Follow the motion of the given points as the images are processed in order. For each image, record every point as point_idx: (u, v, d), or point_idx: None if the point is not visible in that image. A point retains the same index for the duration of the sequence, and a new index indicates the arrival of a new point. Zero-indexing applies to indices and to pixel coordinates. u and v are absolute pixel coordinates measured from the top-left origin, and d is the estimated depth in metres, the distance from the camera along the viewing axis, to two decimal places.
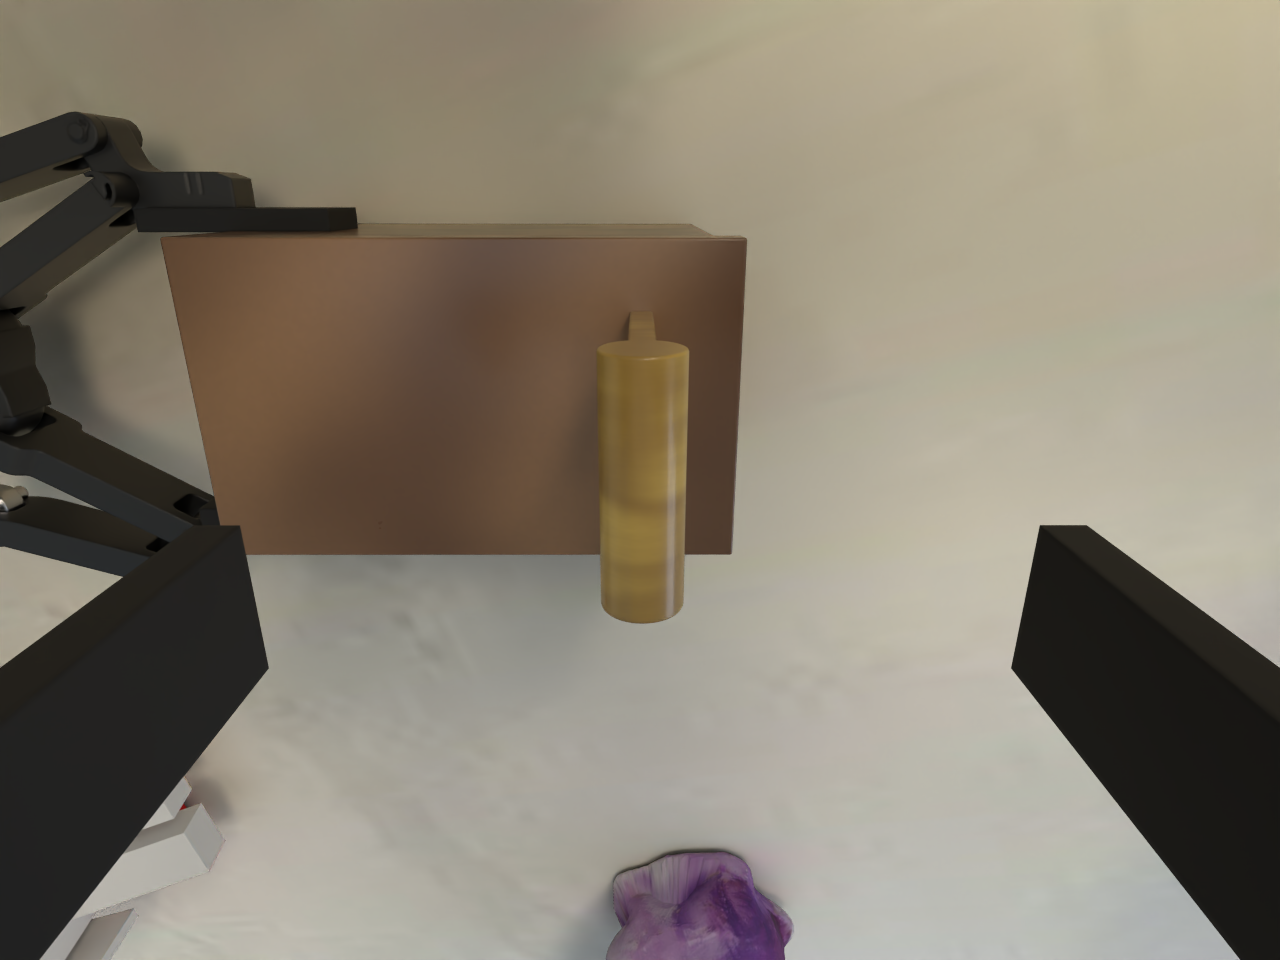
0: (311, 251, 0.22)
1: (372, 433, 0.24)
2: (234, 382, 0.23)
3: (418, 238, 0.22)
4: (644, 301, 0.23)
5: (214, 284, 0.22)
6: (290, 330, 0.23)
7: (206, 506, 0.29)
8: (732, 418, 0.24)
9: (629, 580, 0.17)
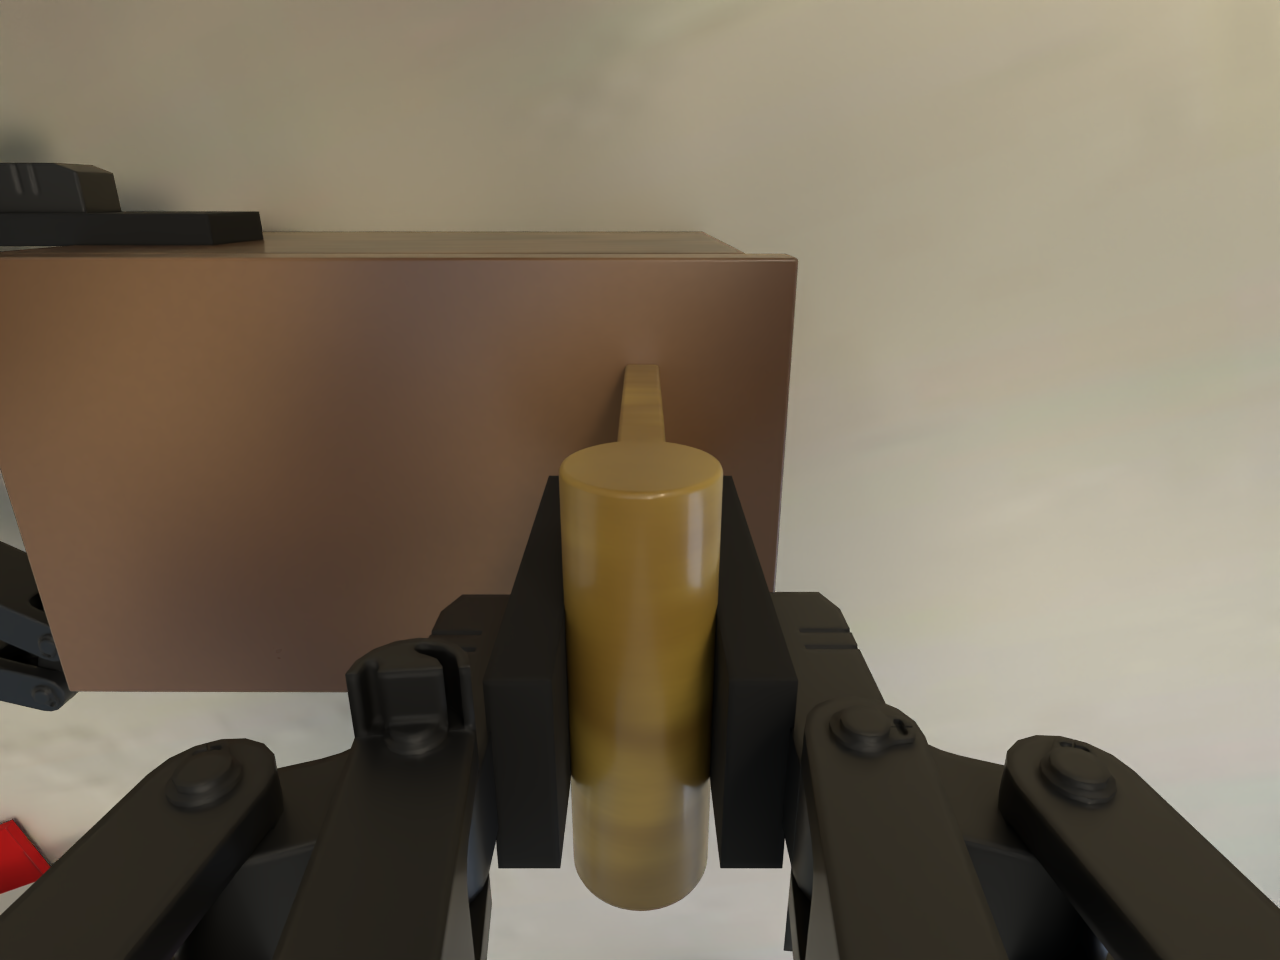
0: (157, 278, 0.15)
1: (261, 532, 0.17)
2: (62, 462, 0.16)
3: (313, 259, 0.15)
4: (646, 351, 0.16)
5: (20, 326, 0.15)
6: (134, 390, 0.16)
7: None
8: (772, 513, 0.17)
9: (618, 847, 0.10)
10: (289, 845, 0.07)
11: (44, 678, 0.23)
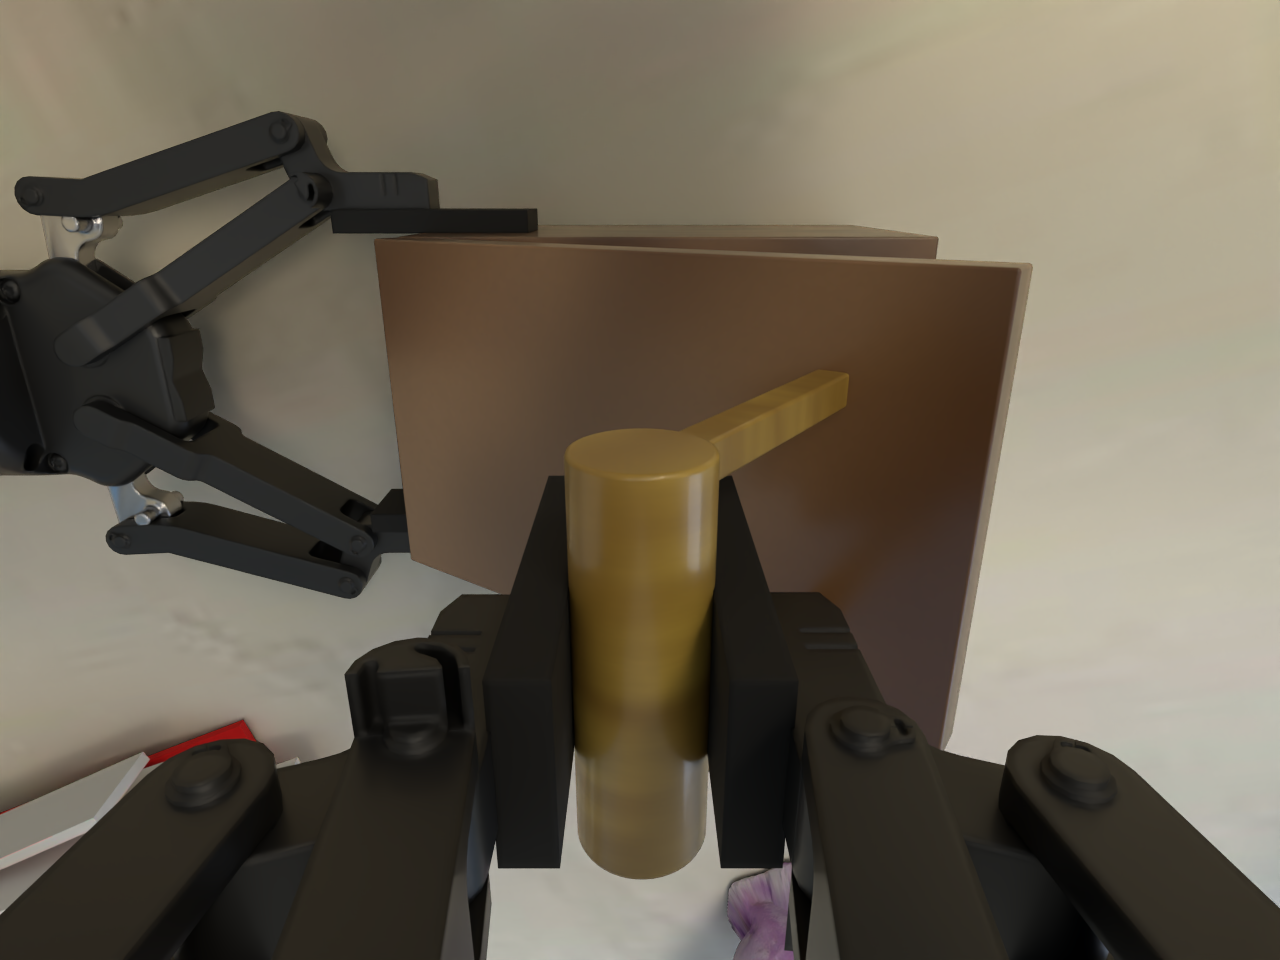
0: (481, 259, 0.20)
1: (524, 470, 0.21)
2: (420, 391, 0.22)
3: (576, 249, 0.18)
4: (839, 357, 0.15)
5: (408, 289, 0.21)
6: (462, 344, 0.21)
7: (376, 511, 0.29)
8: (961, 559, 0.15)
9: (587, 800, 0.11)
10: (289, 844, 0.07)
11: (348, 571, 0.30)
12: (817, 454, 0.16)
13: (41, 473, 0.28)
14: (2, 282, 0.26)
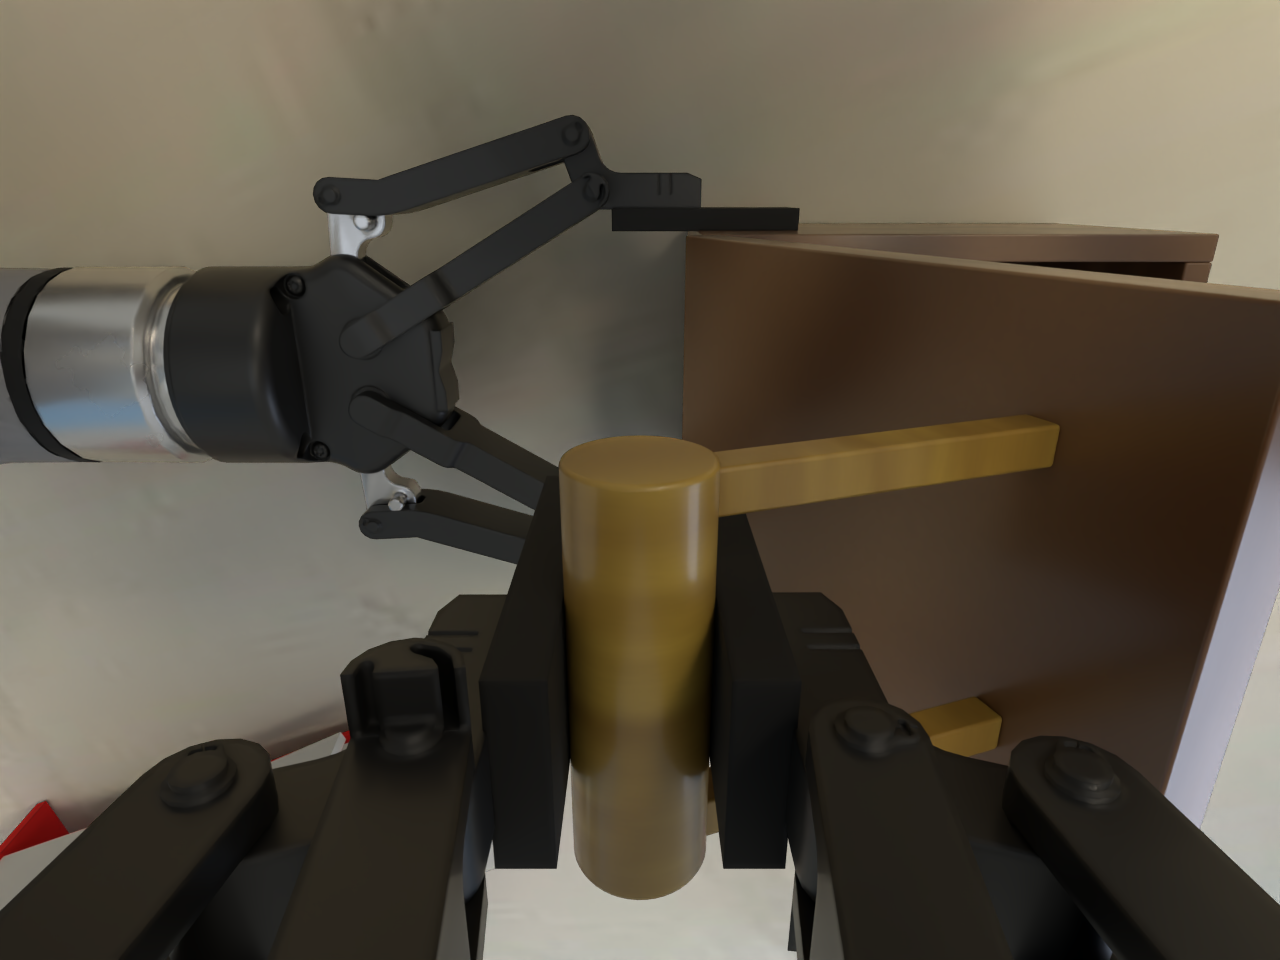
0: (752, 258, 0.20)
1: None
2: (700, 382, 0.23)
3: (822, 251, 0.17)
4: (1052, 402, 0.12)
5: (702, 284, 0.23)
6: (730, 341, 0.21)
7: None
8: (1171, 708, 0.10)
9: None
10: (284, 845, 0.07)
11: None
12: (1015, 520, 0.12)
13: (306, 460, 0.30)
14: (287, 278, 0.28)
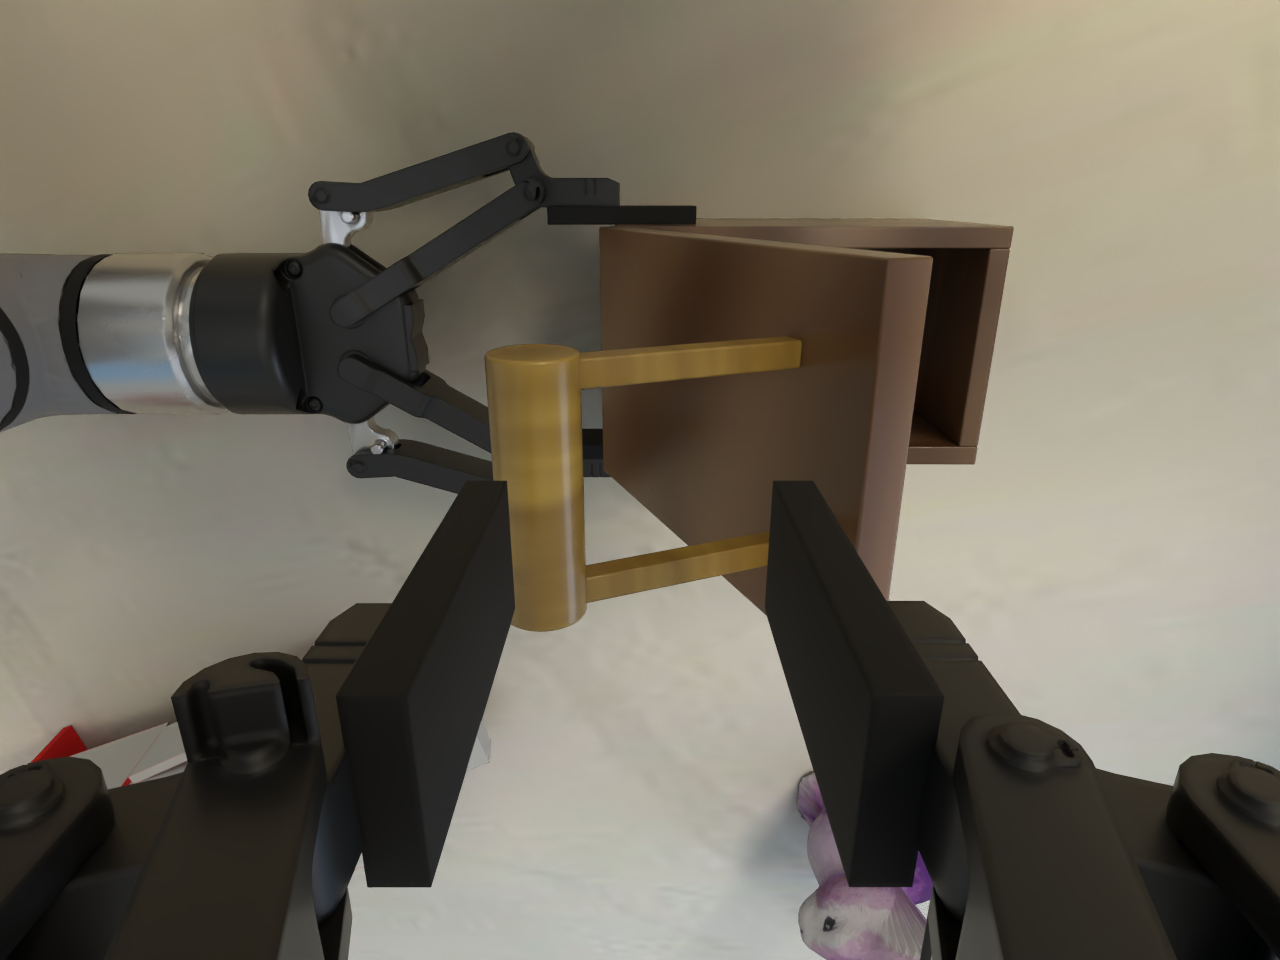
0: (642, 243, 0.26)
1: (653, 405, 0.27)
2: (612, 341, 0.30)
3: (682, 236, 0.24)
4: (798, 327, 0.19)
5: (611, 264, 0.29)
6: (631, 306, 0.28)
7: None
8: (855, 503, 0.17)
9: None
10: (109, 869, 0.07)
11: None
12: (786, 406, 0.20)
13: (303, 412, 0.36)
14: (288, 262, 0.34)
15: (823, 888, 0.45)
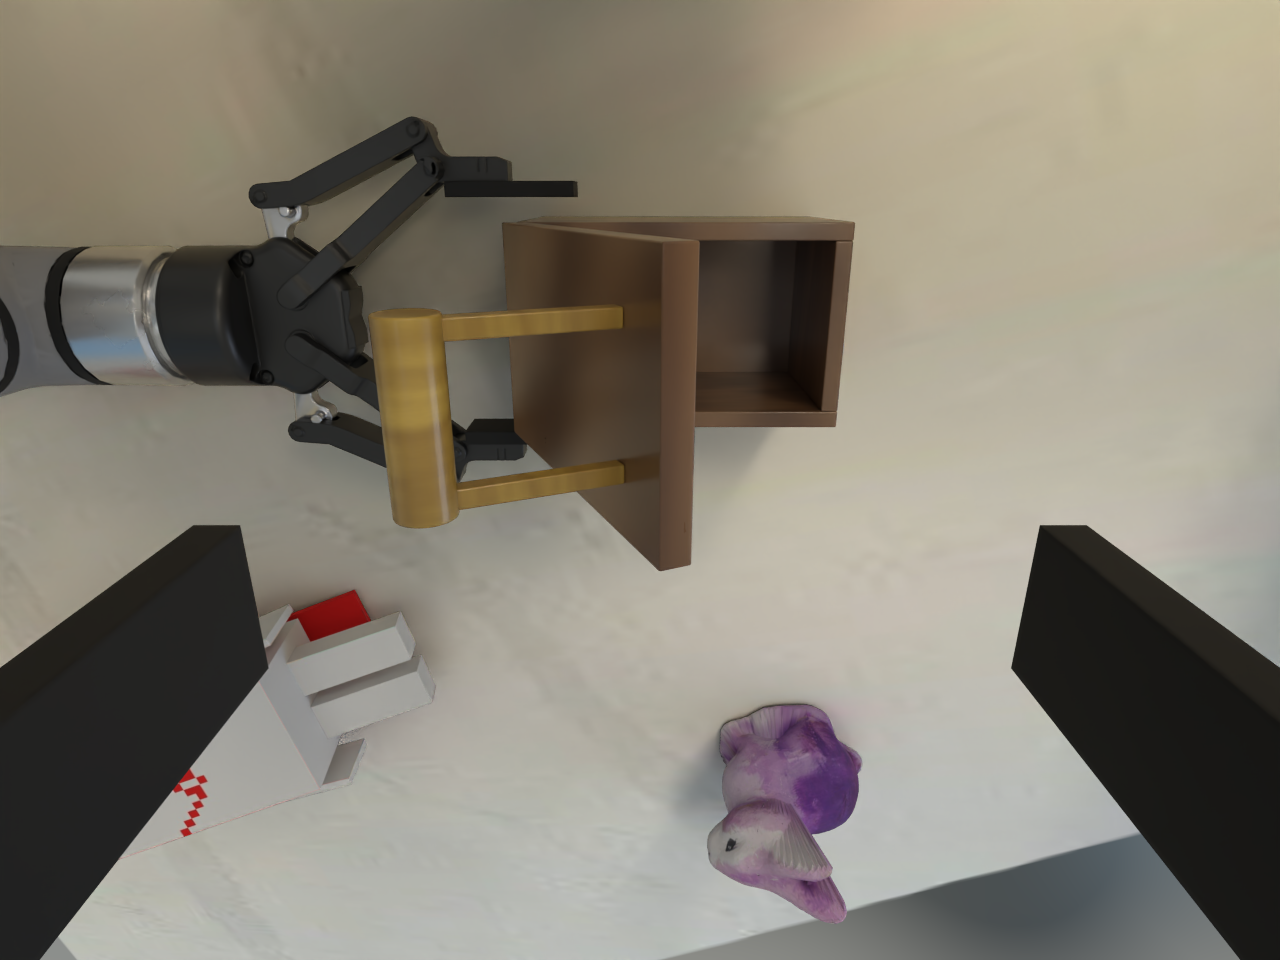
0: (529, 235, 0.32)
1: (543, 370, 0.33)
2: None
3: (553, 229, 0.29)
4: (620, 296, 0.24)
5: (511, 254, 0.35)
6: (525, 289, 0.34)
7: (468, 430, 0.43)
8: (657, 428, 0.23)
9: None
10: None
11: None
12: (618, 359, 0.25)
13: (257, 383, 0.42)
14: (241, 253, 0.40)
15: (728, 815, 0.51)
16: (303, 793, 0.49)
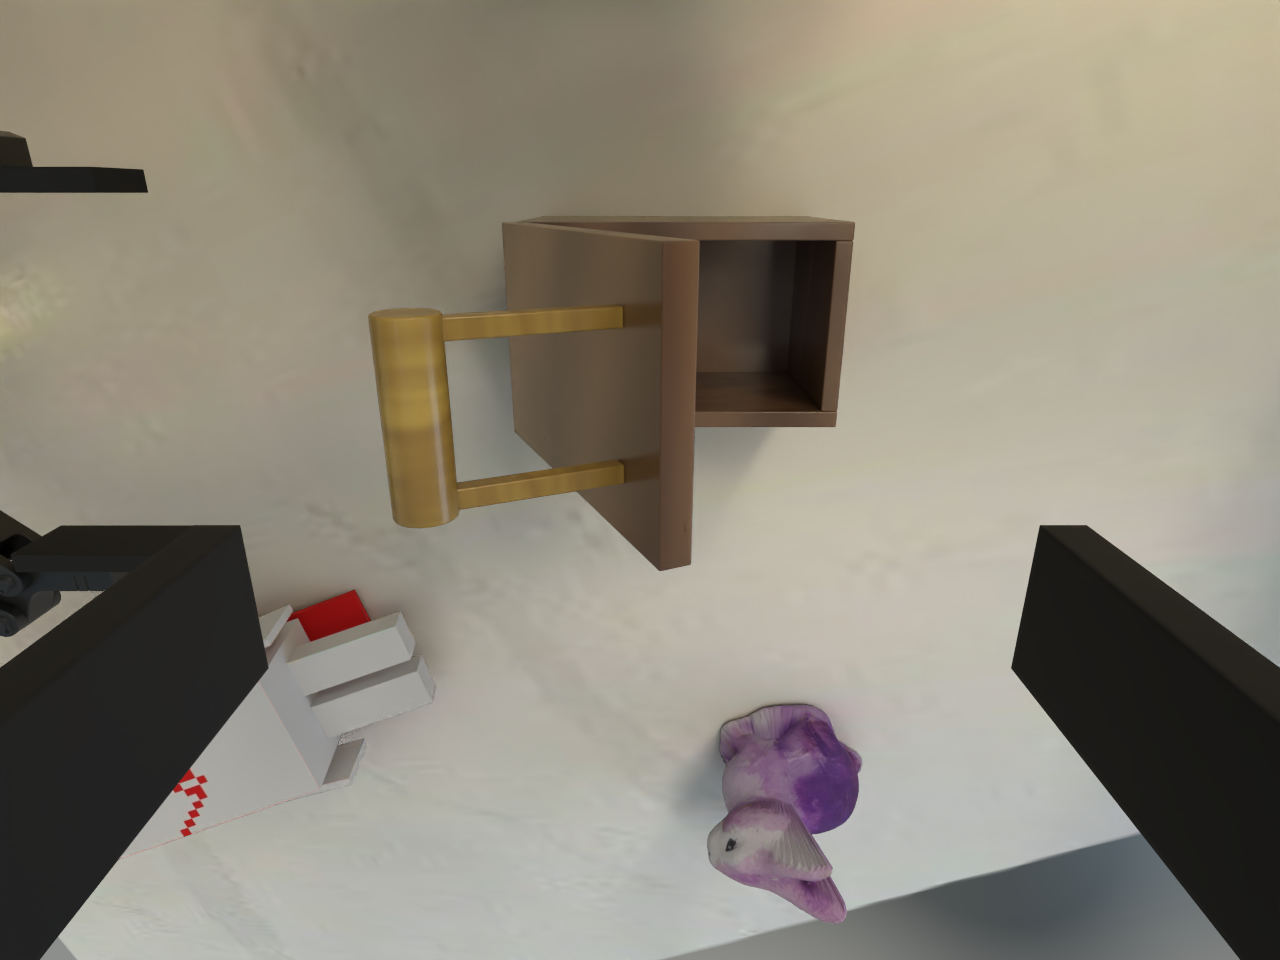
0: (529, 235, 0.32)
1: (543, 370, 0.33)
2: None
3: (553, 229, 0.29)
4: (620, 296, 0.24)
5: (511, 254, 0.35)
6: (525, 288, 0.34)
7: (19, 551, 0.29)
8: (657, 428, 0.23)
9: None
10: None
11: (4, 611, 0.30)
12: (618, 359, 0.25)
13: None
14: None
15: (728, 815, 0.51)
16: (303, 793, 0.49)
